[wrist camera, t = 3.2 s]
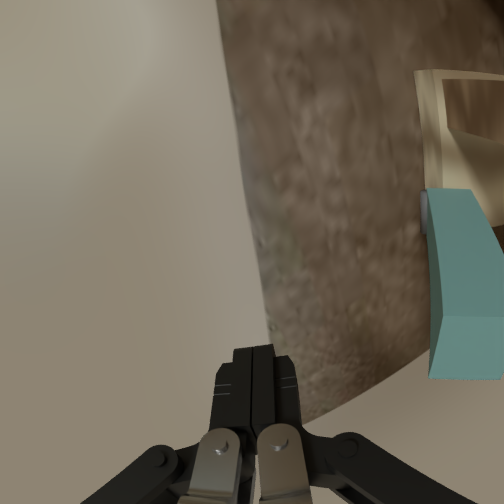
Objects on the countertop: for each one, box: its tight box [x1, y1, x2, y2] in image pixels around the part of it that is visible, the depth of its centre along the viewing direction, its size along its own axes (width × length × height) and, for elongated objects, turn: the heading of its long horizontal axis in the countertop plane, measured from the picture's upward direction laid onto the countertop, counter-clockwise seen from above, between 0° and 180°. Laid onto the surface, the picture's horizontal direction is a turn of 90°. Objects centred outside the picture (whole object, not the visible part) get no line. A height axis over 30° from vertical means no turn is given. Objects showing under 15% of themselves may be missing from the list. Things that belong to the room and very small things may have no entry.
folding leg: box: [420, 188, 504, 380], centre depth 15 cm, size 4×4×14 cm
